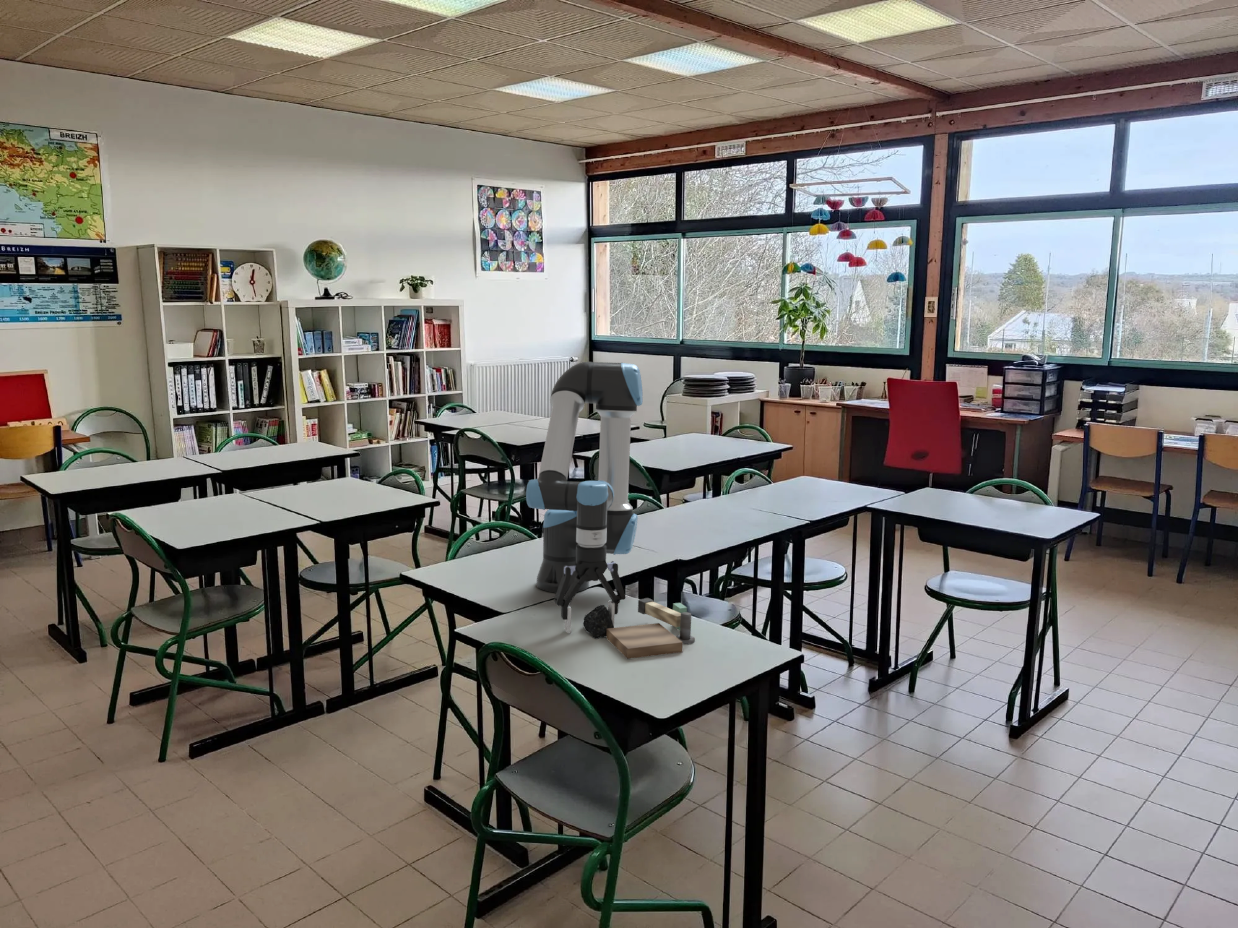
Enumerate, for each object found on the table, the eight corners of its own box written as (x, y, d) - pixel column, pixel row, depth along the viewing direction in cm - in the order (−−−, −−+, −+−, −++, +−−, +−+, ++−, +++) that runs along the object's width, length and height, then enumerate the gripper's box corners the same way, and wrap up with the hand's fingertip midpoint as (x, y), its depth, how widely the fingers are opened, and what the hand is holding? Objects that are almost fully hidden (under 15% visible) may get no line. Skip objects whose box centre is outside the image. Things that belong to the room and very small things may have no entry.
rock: (592, 640, 228) (593, 617, 227) (578, 626, 237) (578, 604, 236) (619, 637, 231) (620, 614, 230) (604, 623, 240) (604, 602, 239)
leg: (684, 625, 232) (685, 613, 231) (675, 628, 230) (675, 615, 229) (647, 609, 243) (647, 597, 242) (637, 611, 241) (638, 599, 241)
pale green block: (672, 625, 240) (673, 603, 239) (679, 624, 241) (680, 602, 240) (678, 630, 236) (679, 608, 235) (686, 629, 237) (686, 607, 236)
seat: (606, 638, 229) (607, 611, 228) (681, 629, 237) (682, 604, 236) (627, 658, 217) (628, 630, 215) (706, 649, 224) (707, 622, 223)
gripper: (550, 551, 224) (549, 638, 227) (640, 544, 232) (637, 629, 236) (541, 543, 230) (540, 628, 234) (629, 537, 239) (626, 619, 243)
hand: (589, 629), depth 235 cm, fingers open, 11 cm apart
